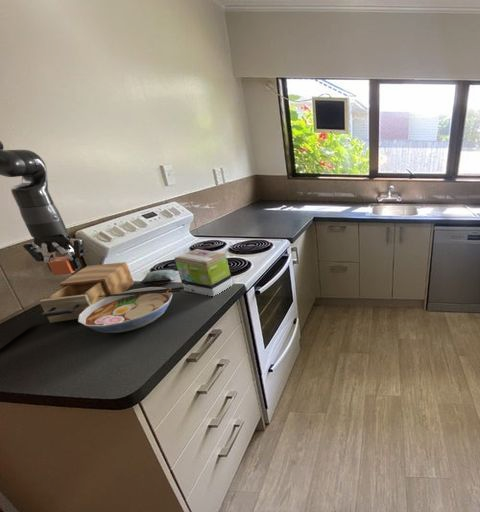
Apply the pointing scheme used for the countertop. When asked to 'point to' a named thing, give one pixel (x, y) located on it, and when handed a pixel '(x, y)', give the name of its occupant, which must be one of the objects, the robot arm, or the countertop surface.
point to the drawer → (72, 300)
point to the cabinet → (104, 277)
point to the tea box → (204, 272)
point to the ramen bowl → (127, 309)
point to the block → (61, 266)
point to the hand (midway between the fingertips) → (67, 270)
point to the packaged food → (159, 277)
